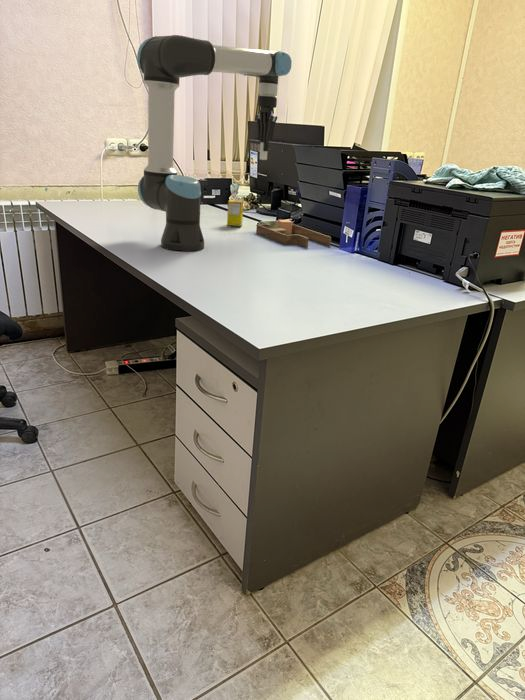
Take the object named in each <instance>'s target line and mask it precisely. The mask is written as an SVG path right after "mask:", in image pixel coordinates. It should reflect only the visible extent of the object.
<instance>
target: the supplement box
mask: <svg viewBox="0 0 525 700" xmlns="http://www.w3.org/2000/svg"><path fill="white" fill-rule="evenodd" d="M243 213H244V200H242V199H241V200H239V199H231V198H230V199H229V200H228V201H227V217H226V218H227V220H226V223H227V224H226V226H227V227H230V228H241V227H242V226H243V219H244V218H243V217H244V214H243Z"/></svg>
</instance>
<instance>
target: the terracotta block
mask: <svg viewBox="0 0 525 700" xmlns="http://www.w3.org/2000/svg"><path fill="white" fill-rule="evenodd" d="M277 221H278V224H277V228H282V229H285V230H287V233H286V235H292V234H293V233H292V224H294V222H293V221H291V220H290V219H278V220H277Z"/></svg>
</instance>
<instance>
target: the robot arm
mask: <svg viewBox="0 0 525 700" xmlns="http://www.w3.org/2000/svg"><path fill="white" fill-rule="evenodd" d="M136 54H137V55H136V61H137V66H138V68H139V69H140V71H141V73H142V75H143V83H144V84H145V85H146V87H147V88H148V90H147V92H148V93H147V94H148V99H147V101H148V102H147V103H148V105H147V111H148V115H147V116H148V119H147V122H148V125H147V126H148V128H147V129H148V132H147V133H148V134H147V135H148V136H147V137H148V138H147V139H148V140H147V141H148V142H147V148H148V149H147V150H148V151H147V155H148V156H147V157H148V158H147V166H145V167H144V168H143V176H142V177H141V179H140V180H139V182H138V184H137V193H138V196H139V198H140V201H141V202H142V203H143V204H144V205H145V206H147V207H150V208H151V209H153V210H158V211H161V212H165V226H164V229H163V232H162V236H161V239H160V246H161V247H162V248H163V247H165V248H164V249H166V248H168V249H167V250H170V249H173V250H172V251H176V250H182V251H181V252H193V251H192V250H196V251H200V250H199V249H201V250H203V249H204V248H205V238H204V236H203V232H202V228H201V200H202V198H201V197H202V191H201V183H200V181H199V180H198V179H196V178H194V177H192V176H185V175H182V174H178V171H177V170H176V169H175V166H174V134H175V93H176V90H177V89H178V88H179V87H180V78H188V77H193V76H210V74H212V73H224V74H225V73H226V74H238V75H239V74H240V75H242V76H248V77H255V78H258V92H257V93H258V95H259V96H258V97H257V106H258V107H259V113H258V114H255V120H256V136H257V141H259V145H260V146H259V160H262V161H267V160H268V152H269V151H268V150H269V143H270V142H273V136H274V133H275V132H274V131H275V128H276V127H275V126H276V123H277V120H278V116H277V115H275V110H274V109H275V108H277V103H278V97H277V96H278V89H279V87H278V86H279V78H280V77H281V76H282V77H283V76H287V75H289V73H290V72H291V69H292V57H291V55H290V54H289V53H288V52H287V51H281V50H279V51H277V50H271V49H265V50H264V49H253V48H244V47H243V48H242V47H237V46H236V47H235V46H225V45H216V44H213V43H212V42H211V41H210V40H205V39H200V38H194V37H189V36H185V35H179V34H173V35H172V34H171V35H161V36H160V35H158V36H157V35H154V36H152V37H149V38H146V39H145V40H144V41H142V42H141V44H140V45H139V48H138V50H137V53H136Z"/></svg>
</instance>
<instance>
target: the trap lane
mask: <svg viewBox="0 0 525 700" xmlns="http://www.w3.org/2000/svg"><path fill="white" fill-rule="evenodd" d="M277 224H278V220H261V221H259V224H256V232H255V233H256V234H258V235H260V236H262V237H265V238H268V239H270V240H272V241H275V242H278V243H280V244H283V245H298V246H301V247H304V248H308V247H309V240H311V241H314V242H316V243H318V244H323V245H325V246H328V247H331V242H332V237H331V236H330V235H326V234H323V233H321V232H318V231H316V230H312V229H309V228H306V227H303V226H300V225H297V224H294V223H292V233H291V234H286V233H287V230H285V229H282V228H277Z"/></svg>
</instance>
